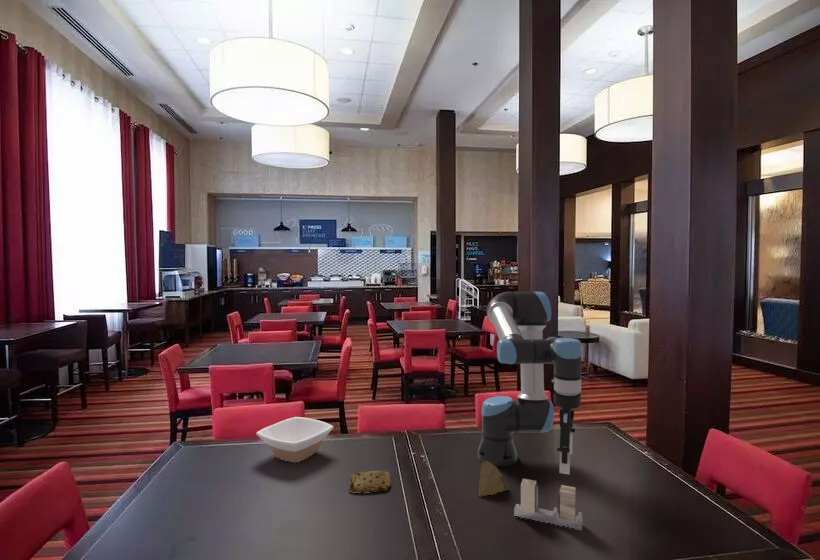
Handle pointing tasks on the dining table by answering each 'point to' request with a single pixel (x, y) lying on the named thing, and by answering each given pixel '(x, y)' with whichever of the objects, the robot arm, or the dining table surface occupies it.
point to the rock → (491, 480)
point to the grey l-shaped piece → (532, 512)
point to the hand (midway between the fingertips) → (566, 462)
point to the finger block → (567, 502)
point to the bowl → (295, 437)
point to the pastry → (370, 481)
